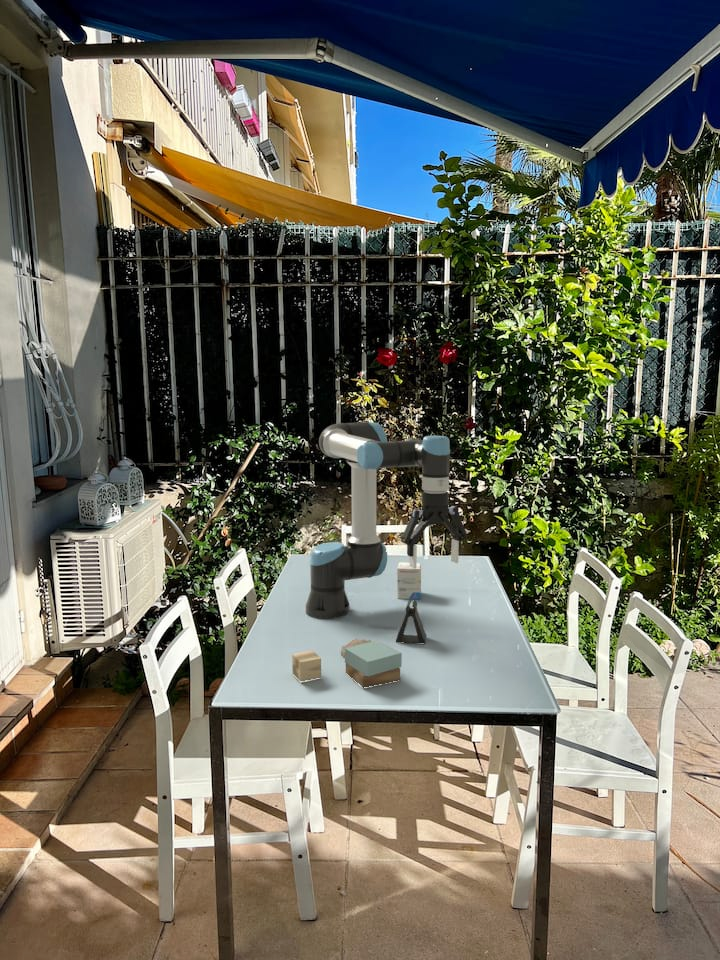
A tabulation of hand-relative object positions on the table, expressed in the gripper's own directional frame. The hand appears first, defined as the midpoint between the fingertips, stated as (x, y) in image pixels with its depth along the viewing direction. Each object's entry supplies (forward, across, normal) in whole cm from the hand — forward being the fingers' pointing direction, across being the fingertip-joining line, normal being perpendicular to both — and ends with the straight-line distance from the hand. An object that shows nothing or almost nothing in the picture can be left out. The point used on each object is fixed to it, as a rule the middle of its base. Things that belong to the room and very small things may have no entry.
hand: (434, 564), depth 203 cm
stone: (+28, -18, +11) cm, 35 cm away
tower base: (+28, -22, -6) cm, 36 cm away
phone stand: (+28, 0, +14) cm, 31 cm away
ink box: (+28, +20, +53) cm, 63 cm away
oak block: (+28, -38, +2) cm, 47 cm away
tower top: (+24, -22, -6) cm, 33 cm away
